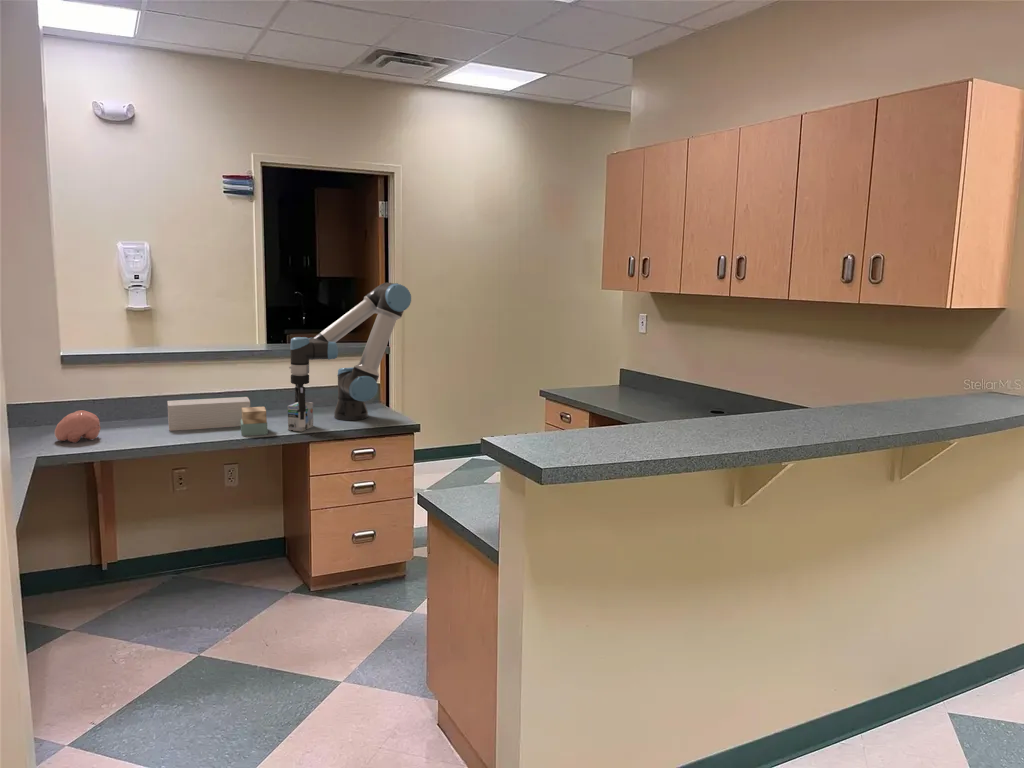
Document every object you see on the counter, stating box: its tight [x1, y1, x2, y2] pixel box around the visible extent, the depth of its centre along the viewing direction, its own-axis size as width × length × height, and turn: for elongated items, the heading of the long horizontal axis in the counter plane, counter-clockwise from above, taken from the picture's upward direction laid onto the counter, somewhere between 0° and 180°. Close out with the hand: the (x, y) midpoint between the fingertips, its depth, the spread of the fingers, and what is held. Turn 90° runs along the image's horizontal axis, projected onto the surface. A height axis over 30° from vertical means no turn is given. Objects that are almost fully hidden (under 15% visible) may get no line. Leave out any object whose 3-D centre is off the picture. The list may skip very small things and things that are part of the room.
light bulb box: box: [287, 401, 314, 432], centre depth 313 cm, size 11×7×11 cm, turn 168°
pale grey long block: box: [166, 396, 251, 432], centre depth 314 cm, size 32×11×11 cm, turn 116°
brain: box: [54, 409, 101, 443], centre depth 284 cm, size 16×13×12 cm
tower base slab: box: [240, 419, 269, 437], centre depth 305 cm, size 10×10×5 cm
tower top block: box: [242, 406, 268, 424], centre depth 304 cm, size 9×9×5 cm
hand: (300, 423), depth 314 cm, fingers open, 13 cm apart
